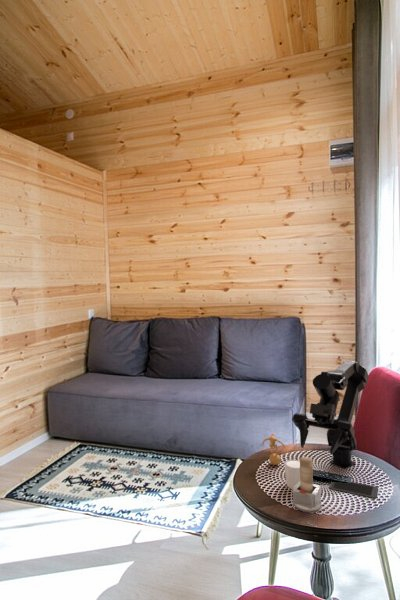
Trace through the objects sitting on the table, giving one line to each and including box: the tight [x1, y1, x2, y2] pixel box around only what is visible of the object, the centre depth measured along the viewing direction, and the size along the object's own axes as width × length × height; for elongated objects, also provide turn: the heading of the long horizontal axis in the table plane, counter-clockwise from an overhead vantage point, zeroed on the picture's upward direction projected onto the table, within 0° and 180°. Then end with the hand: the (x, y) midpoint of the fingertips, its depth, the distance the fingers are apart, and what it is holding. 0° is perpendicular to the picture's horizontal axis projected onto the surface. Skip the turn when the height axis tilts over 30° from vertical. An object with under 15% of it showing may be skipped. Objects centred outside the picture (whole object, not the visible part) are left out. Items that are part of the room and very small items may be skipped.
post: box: [299, 456, 314, 493], centre depth 120 cm, size 4×4×12 cm
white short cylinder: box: [283, 459, 300, 490], centre depth 132 cm, size 7×7×7 cm
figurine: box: [261, 433, 286, 466], centre depth 146 cm, size 8×6×12 cm
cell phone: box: [328, 481, 379, 500], centre depth 128 cm, size 7×14×1 cm, turn 61°
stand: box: [292, 482, 322, 513], centre depth 120 cm, size 8×8×5 cm
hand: (316, 450), depth 126 cm, fingers open, 9 cm apart
